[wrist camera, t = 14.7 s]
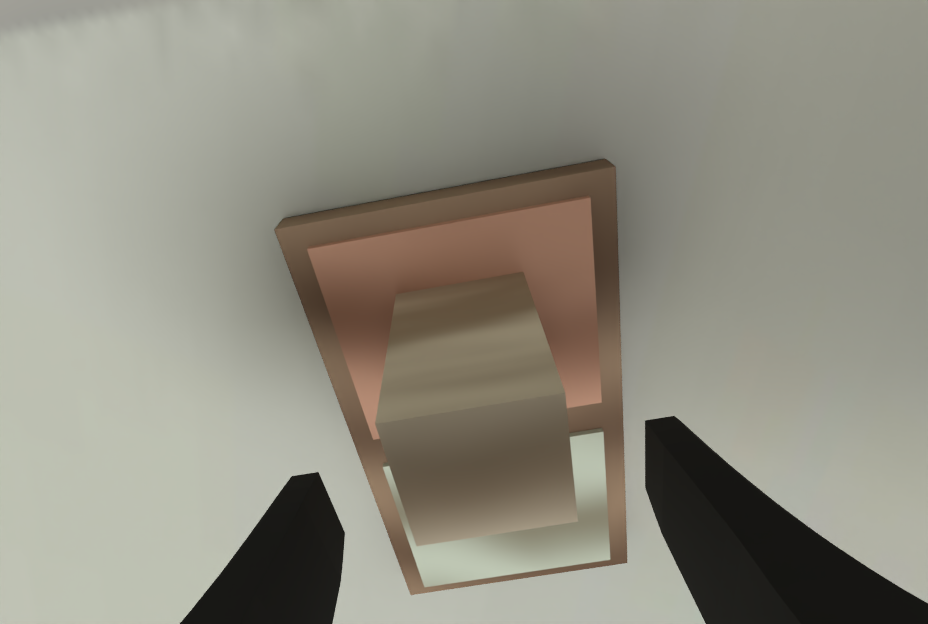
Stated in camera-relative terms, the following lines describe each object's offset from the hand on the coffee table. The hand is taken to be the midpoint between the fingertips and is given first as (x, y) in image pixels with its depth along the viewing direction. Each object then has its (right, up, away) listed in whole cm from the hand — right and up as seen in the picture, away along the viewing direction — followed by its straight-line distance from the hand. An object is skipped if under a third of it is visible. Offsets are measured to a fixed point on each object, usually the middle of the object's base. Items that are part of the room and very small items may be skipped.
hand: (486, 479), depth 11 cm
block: (0, +3, +5) cm, 6 cm away
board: (0, 0, +9) cm, 9 cm away
